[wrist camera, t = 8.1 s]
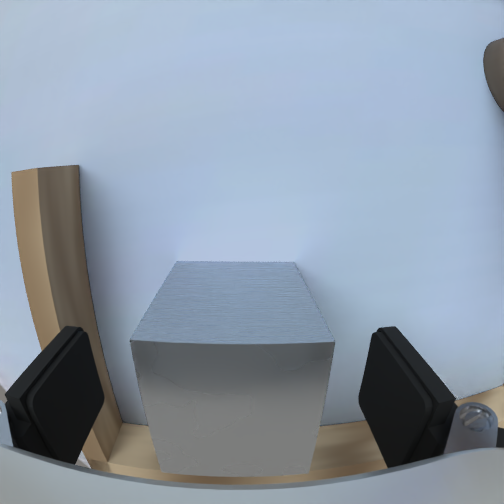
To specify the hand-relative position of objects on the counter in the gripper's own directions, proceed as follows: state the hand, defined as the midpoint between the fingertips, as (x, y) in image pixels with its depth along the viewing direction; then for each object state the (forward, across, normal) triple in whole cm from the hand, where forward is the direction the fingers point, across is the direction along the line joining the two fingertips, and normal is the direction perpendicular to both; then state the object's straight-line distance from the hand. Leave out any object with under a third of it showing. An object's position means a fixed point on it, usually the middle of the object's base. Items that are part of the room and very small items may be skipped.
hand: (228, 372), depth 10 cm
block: (+4, 0, 0) cm, 4 cm away
